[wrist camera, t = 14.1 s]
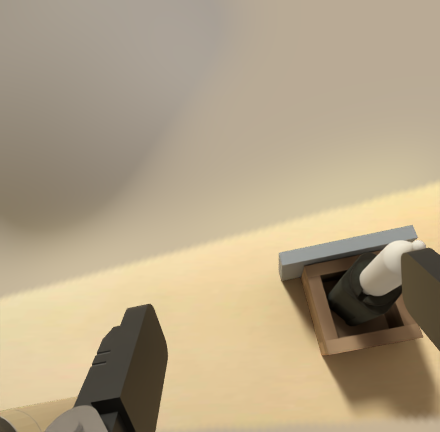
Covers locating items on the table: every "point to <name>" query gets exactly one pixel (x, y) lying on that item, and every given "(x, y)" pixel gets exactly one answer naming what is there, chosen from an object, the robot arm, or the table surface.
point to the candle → (371, 284)
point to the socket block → (337, 328)
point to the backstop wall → (339, 250)
